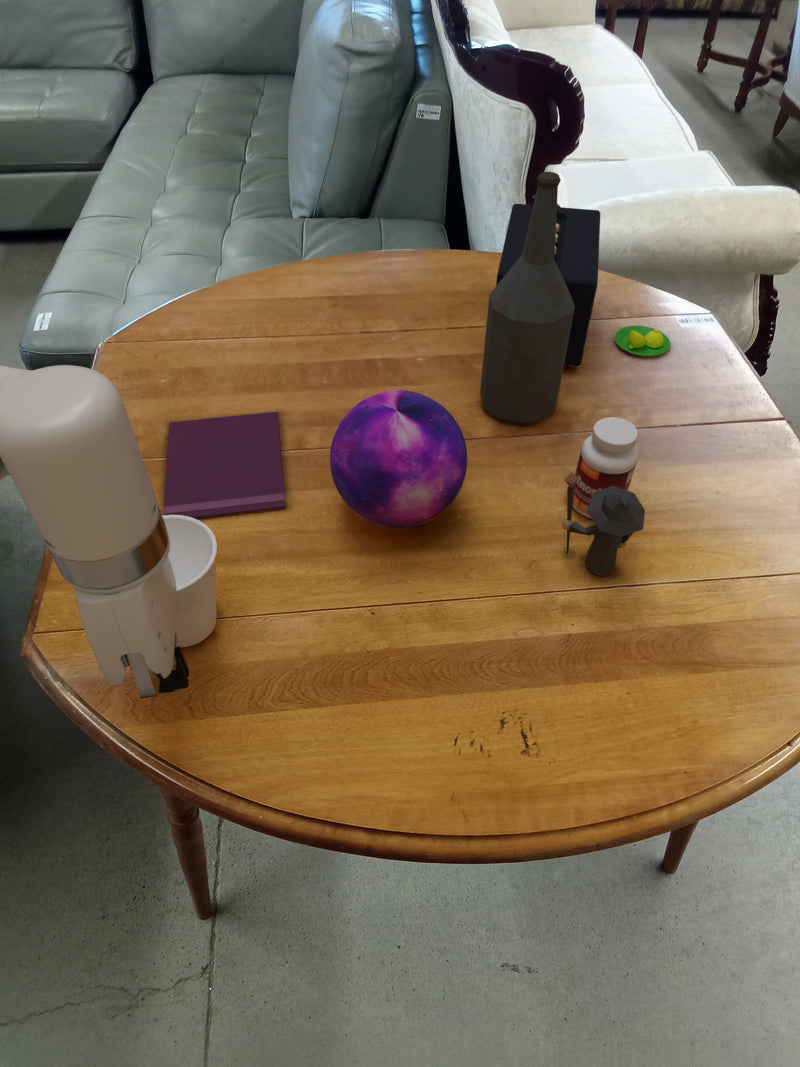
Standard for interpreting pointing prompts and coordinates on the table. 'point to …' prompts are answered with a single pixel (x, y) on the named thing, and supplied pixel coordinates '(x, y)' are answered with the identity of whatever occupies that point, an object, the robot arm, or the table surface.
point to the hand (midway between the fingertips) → (171, 682)
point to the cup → (192, 577)
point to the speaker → (564, 263)
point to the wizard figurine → (605, 524)
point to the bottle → (528, 323)
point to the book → (224, 466)
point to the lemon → (642, 340)
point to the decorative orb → (398, 459)
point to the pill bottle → (605, 460)
